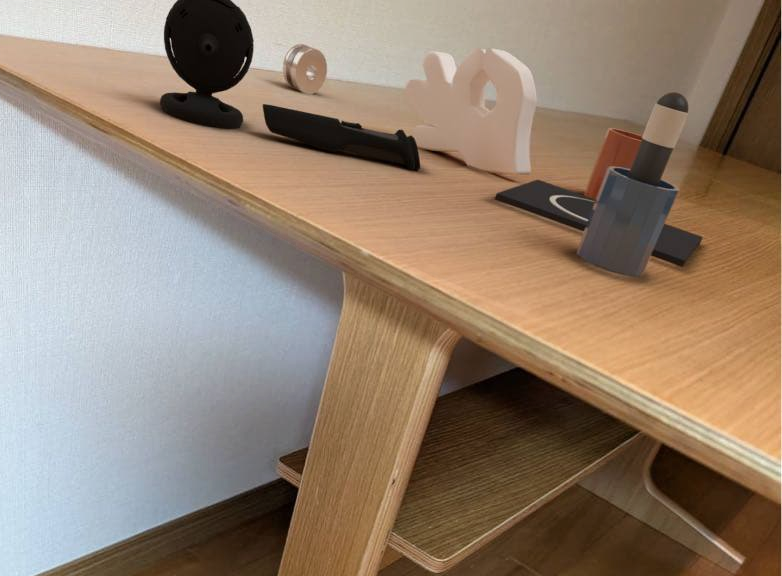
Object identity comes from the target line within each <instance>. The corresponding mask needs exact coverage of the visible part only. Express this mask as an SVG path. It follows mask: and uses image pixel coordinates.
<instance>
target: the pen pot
mask: <svg viewBox="0 0 782 576" xmlns="http://www.w3.org/2000/svg"><path fill="white" fill-rule="evenodd" d="M642 136H643V135H641V134H637V133H634V132H631V131H627V130H623V129H620V128H616V127H615V128H614V127H608V128H607V130H606V133H605V135H604V137H603V141H602V144H601V147H600V148H599V152H598V154H597V157H596V160H595V163H594V166H593V168H592V171H591V173H590V176H589V178H588V182H587V184H586V187H585V190H584V194H583V195H584V196H587V197H590V198H592V199H595V200H596V198H597V195H598V192H599V190H600V187H601V184H602V182H603V179H604V176H605V174H606V171H607V168H608V167H610V166H615V167H622V168H627V169H631V166H632V164H633V161H634V159H635V156H636V154H637V151H638V148H639V146H640V143H641V141H642Z"/></svg>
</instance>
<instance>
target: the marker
mask: <svg viewBox="0 0 782 576" xmlns="http://www.w3.org/2000/svg"><path fill="white" fill-rule="evenodd" d="M688 116H689V103H688V100H687V98H686V97H685V96H684V95H683V94H681V93H679V92H675V91H673V92H668V93H665V94H664V95H663V96H661V97H660V98H659V99H658V100H657V101H656V102H655V104H654V106H653V108H652V112H651V114H650V116H649V119H648V121H647V124H646V126H645V129H644V131H643V134H642V135H641V136H642V141H641V143H640V146H639V148H638V151H637V154H636V156H635V159H634V161H633V164H632V166H631V169H630V172H629V174H628V177H629V178H631V179H634V180H637V181H640V182H643V183H646V184H649V185H653V186H657V187H658V185H659V182H660V180H661V179H662V178H663V175H664V174H665V173H664V172H665V170H666V167H667V165H668V162H669V161H670V158H671V155H672V154H673V151H674V149H675V148H676V146H677V143H678V140H679V138H680V137H681V136H680V135H681V133H682V130H683V128H684V126H685V124H686V122H687V119H688Z"/></svg>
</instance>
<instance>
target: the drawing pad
mask: <svg viewBox="0 0 782 576" xmlns="http://www.w3.org/2000/svg"><path fill="white" fill-rule="evenodd" d="M494 200H495V201H499V202H501V203H504V204H507V205H510V206H512V207H515V208H518V209H520V210H523V211H526V212H529V213H531V214H533V215H534V214H535V215H537V216H540V217H543V218H545V219H548V220H551V221H553V222H556V223H560V224H563V225H564V226H568V227H570V228H572V229H576V230H579V231H582V232H584V230H585V227H586V224H587V222H588V219H589V216H590V214H591V211H592V208H593V206H594V203H595V199H592V198H590V197H587V196H584V194H581V193H578V192H575V191H572V190H569V189H566V188H564V187H560V186H558V185H555V184H552V183H549V182H546V181H543V180H540V179H534V180H532V181H528V182H527V183H523V184H521V185H517V186H514V187H511V188H508V189H505V190H502V191H499V192H497V193H496V194H495V197H494ZM703 239H704V238H703V236H701V235H699V234H695V233H693V232H690V231H687V230H684V229H681V228H678V227H676V226H672V225H670V224H667V223H666V224H665V226H664V228H663V231H662V233H661V235H660V238H659V240H658V242H657V245H656V247H655V249H654V252H653V254H652V256H651V257H654V258H656V259H659V260H663V261H664V262H668V263H671V264H674V265H676V266H680V267H684V265H686V263H687V262H688V260H689V259H690V258H691V256H692V255H693V253H694V252H695V251H696V250H697V248H698V247H699V246H700V245H701V242H702V240H703Z"/></svg>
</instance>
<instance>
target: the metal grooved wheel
mask: <svg viewBox="0 0 782 576" xmlns="http://www.w3.org/2000/svg"><path fill="white" fill-rule="evenodd" d="M282 74H283V75H282V76H283V78H284V80H285V82H286V84H287V85H288V87H290V88H292V89H295V90H297V91H299V92H300V93H302V94H307V95H308V94H309V95H314V94H316V93H317V92H318V91H320V89H321V88H322V87H323V85H324V83H325V81H326V79H327V74H328V64H327V59H326V57H325V55H324V53H323V52H322V51H321V50H320V49H317V48H314V47H311V46H309V45H307V44H304V43H299V44H295V45H293V46H292V47H291V48H289V49H288V51H287V53H286V54H285V57H284V59H283V63H282Z"/></svg>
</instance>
